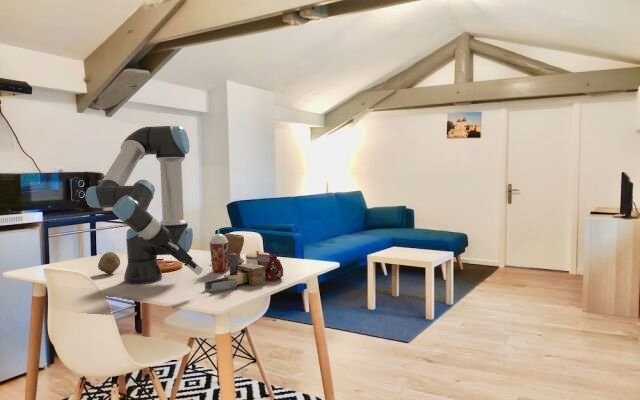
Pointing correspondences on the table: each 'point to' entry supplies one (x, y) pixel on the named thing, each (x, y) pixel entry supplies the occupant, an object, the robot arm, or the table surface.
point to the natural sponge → (109, 262)
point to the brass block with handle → (236, 271)
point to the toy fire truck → (270, 266)
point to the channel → (220, 285)
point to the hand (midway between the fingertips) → (199, 271)
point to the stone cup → (235, 245)
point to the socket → (254, 273)
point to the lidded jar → (253, 257)
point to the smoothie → (219, 253)
